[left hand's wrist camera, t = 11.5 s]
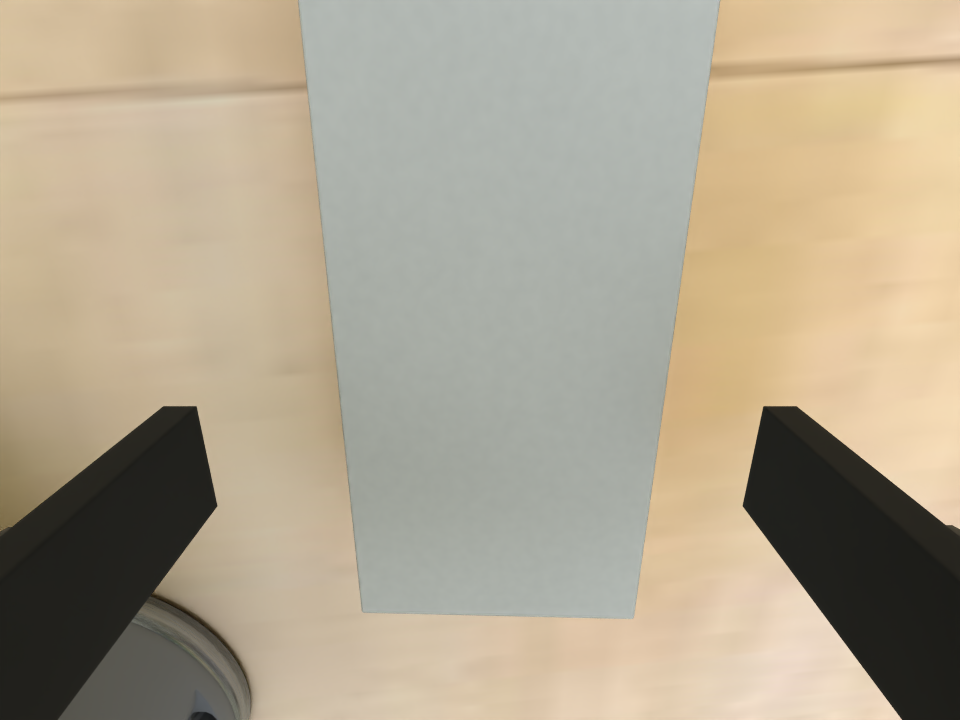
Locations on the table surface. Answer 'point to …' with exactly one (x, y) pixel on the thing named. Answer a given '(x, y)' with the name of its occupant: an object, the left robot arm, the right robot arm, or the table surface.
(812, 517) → the left robot arm
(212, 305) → the table surface
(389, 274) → the grey long rectangular bar
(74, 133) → the table surface
